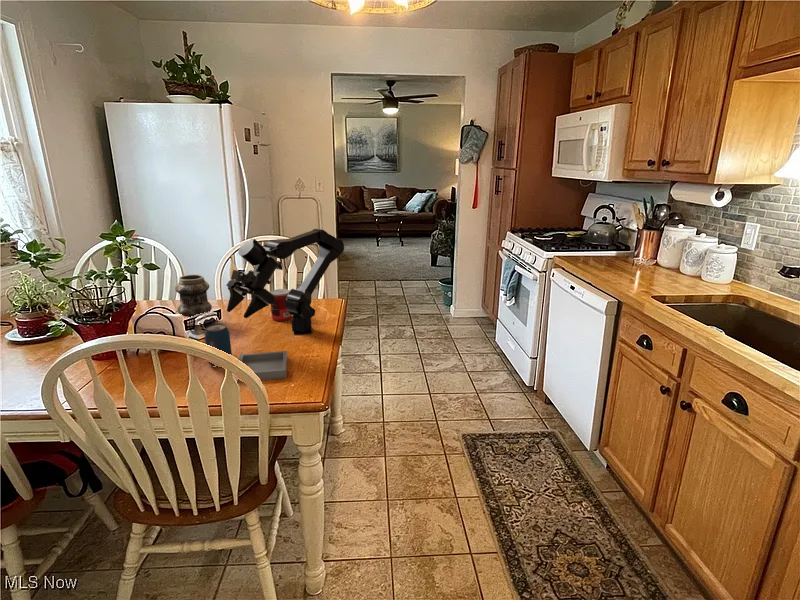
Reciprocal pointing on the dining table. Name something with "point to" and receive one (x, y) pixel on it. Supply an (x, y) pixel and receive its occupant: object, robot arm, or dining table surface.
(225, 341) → the soda can
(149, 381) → the dining table surface
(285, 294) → the canned food
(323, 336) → the dining table surface
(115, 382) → the dining table surface
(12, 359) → the dining table surface
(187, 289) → the apothecary jar
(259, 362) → the tray
